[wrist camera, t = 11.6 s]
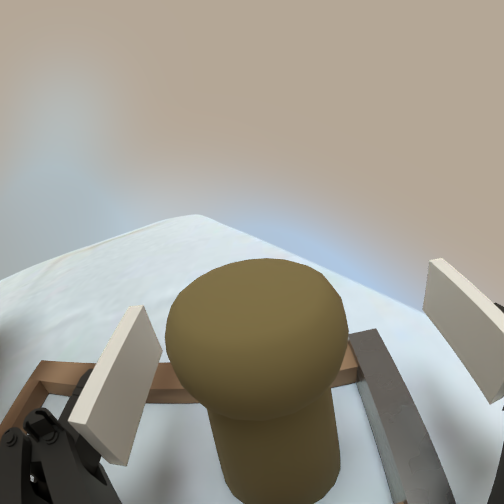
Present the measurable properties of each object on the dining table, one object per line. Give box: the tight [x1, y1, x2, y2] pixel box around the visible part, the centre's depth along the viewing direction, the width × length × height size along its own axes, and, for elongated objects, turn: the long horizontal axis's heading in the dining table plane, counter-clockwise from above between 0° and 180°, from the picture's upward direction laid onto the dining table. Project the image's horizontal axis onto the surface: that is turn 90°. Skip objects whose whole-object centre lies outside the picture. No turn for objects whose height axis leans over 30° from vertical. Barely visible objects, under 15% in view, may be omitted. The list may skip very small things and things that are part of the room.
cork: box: [165, 258, 349, 504], centre depth 10 cm, size 6×6×11 cm
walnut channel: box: [0, 343, 404, 504], centre depth 12 cm, size 25×14×2 cm, turn 91°
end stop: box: [348, 328, 456, 504], centre depth 11 cm, size 2×14×2 cm, turn 1°
